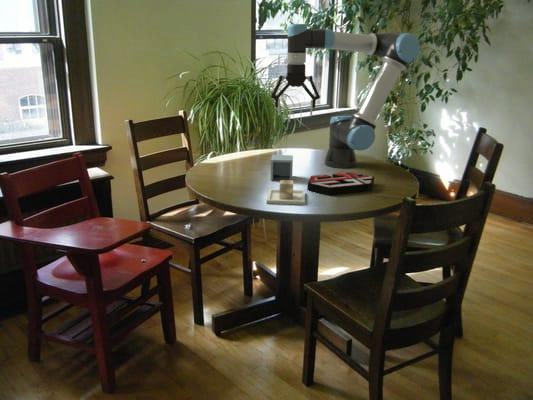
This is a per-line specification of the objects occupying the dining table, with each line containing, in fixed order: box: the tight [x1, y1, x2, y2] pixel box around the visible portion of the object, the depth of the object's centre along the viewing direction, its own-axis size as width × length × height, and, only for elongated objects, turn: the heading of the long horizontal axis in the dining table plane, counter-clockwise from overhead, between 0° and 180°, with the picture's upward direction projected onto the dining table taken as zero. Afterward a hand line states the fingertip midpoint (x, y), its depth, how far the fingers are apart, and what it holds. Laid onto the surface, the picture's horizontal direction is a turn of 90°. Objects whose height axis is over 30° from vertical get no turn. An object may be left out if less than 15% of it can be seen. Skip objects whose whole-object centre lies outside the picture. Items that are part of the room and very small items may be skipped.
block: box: [279, 179, 294, 200], centre depth 202 cm, size 5×5×6 cm
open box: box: [270, 154, 294, 181], centre depth 229 cm, size 9×9×9 cm
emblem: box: [306, 171, 375, 197], centre depth 218 cm, size 18×4×30 cm
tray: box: [266, 188, 306, 206], centre depth 203 cm, size 14×14×1 cm
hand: (294, 115), depth 224 cm, fingers open, 13 cm apart
